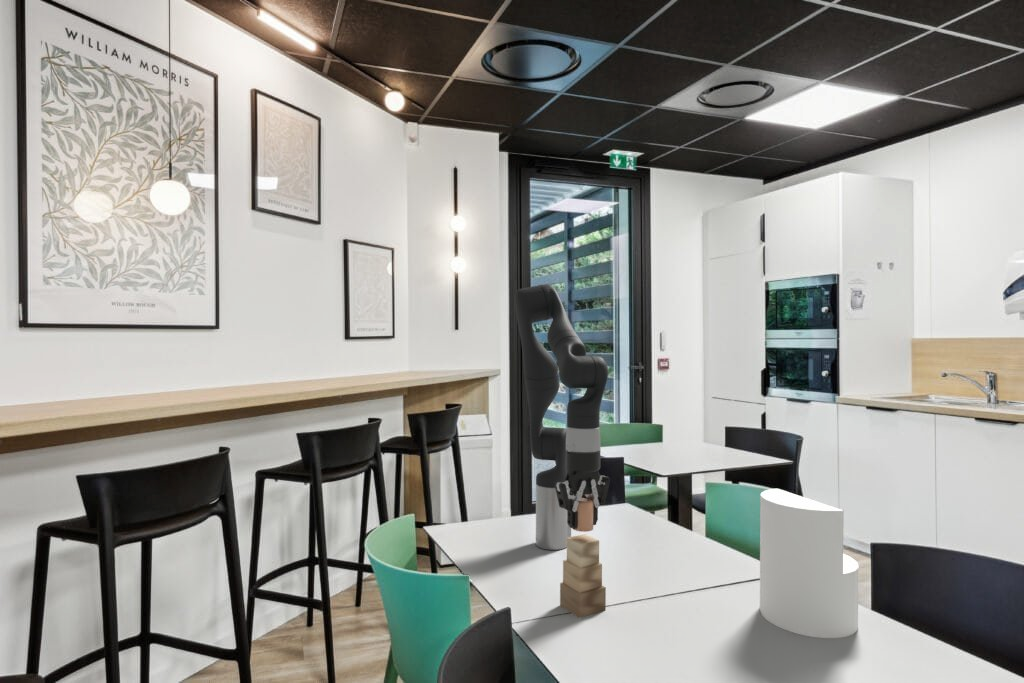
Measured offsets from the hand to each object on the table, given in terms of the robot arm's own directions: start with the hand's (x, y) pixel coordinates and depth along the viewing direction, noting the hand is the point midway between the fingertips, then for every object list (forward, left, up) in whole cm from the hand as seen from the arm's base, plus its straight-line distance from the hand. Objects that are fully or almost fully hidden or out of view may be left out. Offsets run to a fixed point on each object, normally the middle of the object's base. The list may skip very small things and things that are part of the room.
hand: (582, 525), depth 135 cm
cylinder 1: (0, 0, -1) cm, 1 cm away
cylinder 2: (-38, +28, -18) cm, 51 cm away
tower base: (0, 0, -18) cm, 18 cm away
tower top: (0, 0, -8) cm, 8 cm away
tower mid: (0, 0, -13) cm, 13 cm away
